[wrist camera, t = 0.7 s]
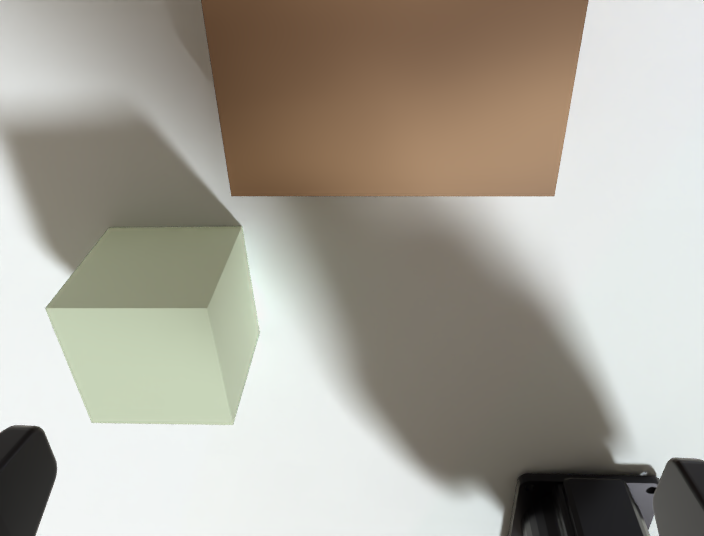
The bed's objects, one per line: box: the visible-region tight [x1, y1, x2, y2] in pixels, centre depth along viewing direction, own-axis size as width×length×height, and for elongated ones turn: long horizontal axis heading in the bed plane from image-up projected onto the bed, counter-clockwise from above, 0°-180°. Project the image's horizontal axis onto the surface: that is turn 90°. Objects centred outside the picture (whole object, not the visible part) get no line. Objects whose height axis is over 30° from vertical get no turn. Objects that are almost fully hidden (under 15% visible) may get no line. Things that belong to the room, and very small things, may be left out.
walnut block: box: [201, 0, 588, 196], centre depth 16 cm, size 9×9×4 cm
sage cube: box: [45, 226, 260, 425], centre depth 22 cm, size 5×5×5 cm
